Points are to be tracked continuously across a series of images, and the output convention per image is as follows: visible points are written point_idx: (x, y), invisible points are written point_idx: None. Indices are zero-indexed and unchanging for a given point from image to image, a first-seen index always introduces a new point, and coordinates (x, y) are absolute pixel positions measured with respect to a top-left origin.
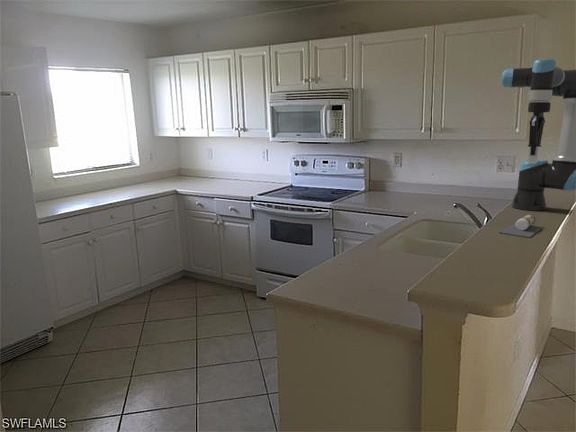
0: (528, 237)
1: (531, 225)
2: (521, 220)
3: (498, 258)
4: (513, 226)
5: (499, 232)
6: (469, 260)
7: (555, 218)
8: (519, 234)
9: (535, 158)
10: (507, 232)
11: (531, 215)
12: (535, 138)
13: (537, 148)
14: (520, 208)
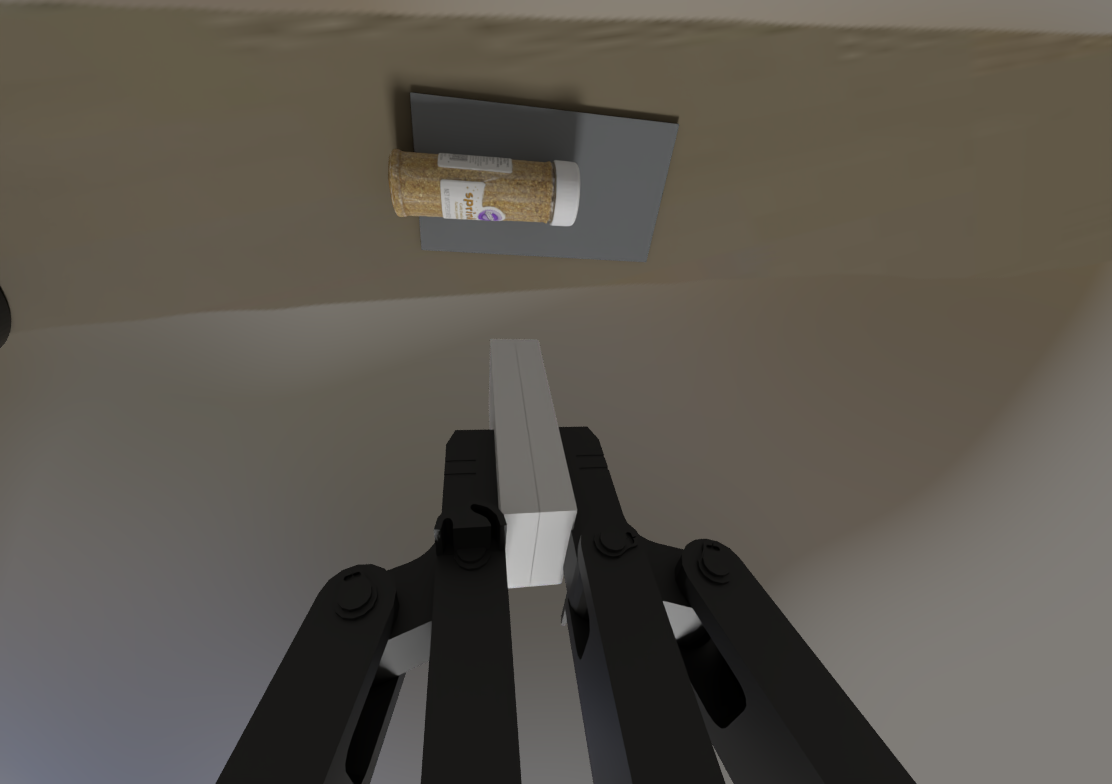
0: (676, 129)
1: None
2: (578, 204)
3: (1006, 173)
4: (504, 235)
5: (645, 260)
6: (1025, 246)
7: (16, 48)
8: (650, 177)
9: (546, 387)
10: (638, 231)
11: (408, 181)
12: (835, 697)
13: (570, 490)
14: (3, 305)
